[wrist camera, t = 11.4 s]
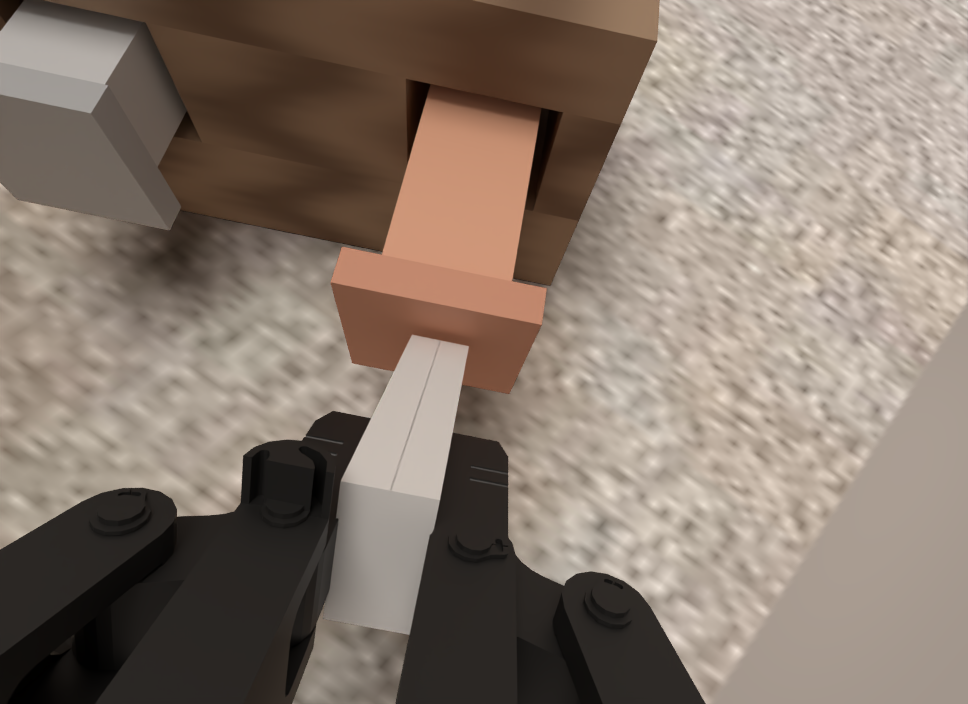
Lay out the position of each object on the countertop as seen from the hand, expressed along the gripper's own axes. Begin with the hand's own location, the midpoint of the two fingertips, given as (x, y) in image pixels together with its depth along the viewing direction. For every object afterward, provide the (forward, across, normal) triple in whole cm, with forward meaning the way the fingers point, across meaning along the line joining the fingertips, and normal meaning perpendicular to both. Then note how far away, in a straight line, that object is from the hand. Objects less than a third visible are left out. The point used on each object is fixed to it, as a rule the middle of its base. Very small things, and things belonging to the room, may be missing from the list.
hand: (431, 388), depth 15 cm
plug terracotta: (+8, 0, +4) cm, 9 cm away
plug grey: (+10, -12, +6) cm, 17 cm away
